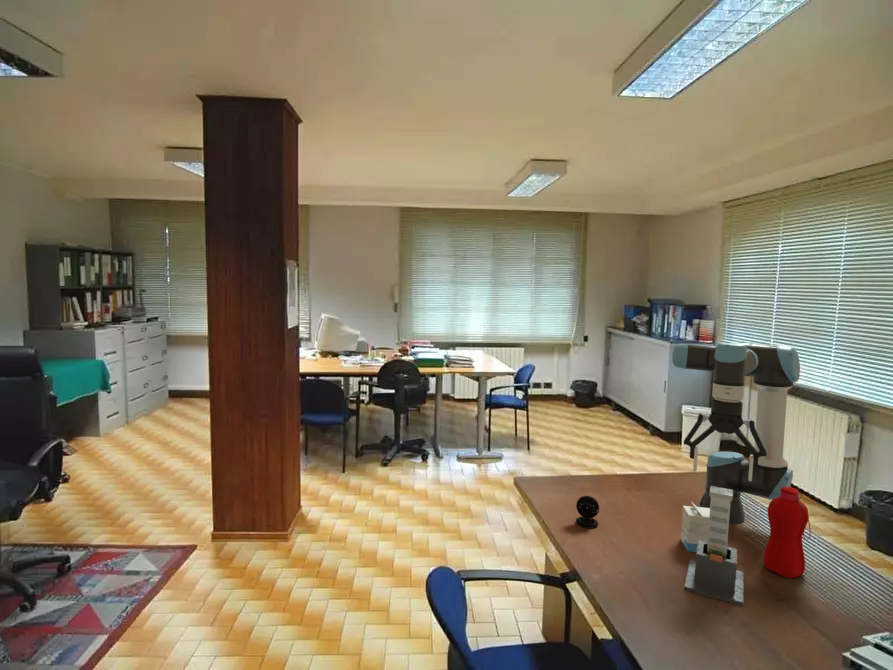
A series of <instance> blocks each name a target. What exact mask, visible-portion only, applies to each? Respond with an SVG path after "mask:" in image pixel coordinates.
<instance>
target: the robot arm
mask: <svg viewBox="0 0 893 670" xmlns="http://www.w3.org/2000/svg"><path fill="white" fill-rule="evenodd" d="M671 355H672V357H671V359H672V360H671V361H672V364H673V366H674V367H675V368H678V369H684V370H692V371H702V372H704V371H705V372H713V380H712V392H711V393H712V394H711V396H712V399H711V405H710V406H711V408H710V414H709V415H708V414H704V413H702V412H699V413H698V416H697V421H695V423H694V425H693V426H692V428H691V429H690V431H689V432H688V434H687V435H686V437H685V438H684V440H683V444H684V445H686V446H688V447H689V459H693V468H692V472H697V469H698V455H699V454H698V453H699V444H700V443H701V442H703V441H704V440H705V439H707V438H708V436H710V435H711V434H714V432H718V433H720V434H728V435H732V434H735V435H736V437H738V438H739V440H740V441H741V443H742V444H743V445H744V446H745V447H746V448H747V450H748V451H749V452H750V454H749V457H748V459H745V456H744V454H742V453H739V452H734V451H715V452H712V453H710V454H709V455H708V456H707V463H706V471H705V472H706V474H705V487H704V488H705V489H704V493H703V495H702V497H701V499H700V501H699V503H698V507H703V508H710V502H711V496H709V493H710V486H714V487H720V488H725V489H731V490H733V499H732V500H731V503H730V516H729V524H730V523H731V524H732V523H733V524H734V523H735V524H737V523H742V522H744V521H745V516H746V515H745V514H746V512H745V511H744V510H745V509H744V506H743V502H742V499H741V493H743V494H747V495H752V496H755V497H759V498H762V499H767V500H768V501H769V500H771V501H772V500H773V499H775V498H777V497H780V496H781V490H779V489H781V487H791V486H792V481H793V476H794V470H792V469H790V468H788V466H789V465H788V461H787V460H786V459H785V458H784V446H785V430H786V417H787V416H786V415H787V414H786V413H787V399H788V398H787V397H788V391H789V390H790V389H791V388H793V387H794V383H798V381H799V380H800V375H801V363H800V358H799V356H800V355H799V354H798V352H797V350H796V348H795V347H792V346H785V345H781V344H763V343H762V344H761V343H752V342H751V343H748V342H740V343H735V342H734V343H733V342H720V343H717V344H716V346H713V345H702V344H700V345H699V344H688V343H678V344H676V345H675V346H674V348H673V351H672V354H671ZM745 377H750V378H753V379H752V381H753V384H754V385H755V387H757V399H756V402H757V403H756V415H755V417H756V418H755V420H754V419H753V418H750V419H743V405H744V403H743V402H742V400H744V392H745V391H744V390H745ZM706 421H709V423H710V426H709V427H708V428H706V429H705V430H704V431H703V432H702V433H701V434H700V435H698V436H697V437H695V438H694V440H693V441H692V439H693V437H694V436H695V434H696V433H697V431H698V430H699V429H700V427H701V425H702V423H705V422H706ZM743 425H745V427H746V428H747V429H749V430H750V434H751V436H752V437H753V439H754V445H753V444H752V443H751V442H750V441H749V439H748V438H747V436H745V434H744V433H743V431H742V430H741V429H740V428H741V427H742V426H743Z"/></svg>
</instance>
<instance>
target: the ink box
mask: <svg viewBox="0 0 893 670" xmlns="http://www.w3.org/2000/svg"><path fill="white" fill-rule="evenodd" d="M691 504H692V505H693V506H690V505H682V515H681V516H682V517H681V528H680V529H681V531H680V532H681V533H680V540H681V542H682V544H683V546H684V548H685V549H686V551H687V552H694V553H696V552H697V547H698V542H699V540H701V541H705V542H708V530H709V516H710V508H703V507H699V506H697V505H696V504H695V503H694V502H693V501H691Z"/></svg>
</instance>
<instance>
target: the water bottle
mask: <svg viewBox="0 0 893 670" xmlns="http://www.w3.org/2000/svg"><path fill="white" fill-rule="evenodd" d="M779 490H781V496H780V497H777V498H775V499H773V500H771V501H770V502H769V504H768V506H767V517H768V523H769V529H770V534H769V537H768V541H767V543H766V545H765V547H764V550H763V551H764V553H763V559H762V562H763V566H764V567H765V568H766V569H767V570H769V571H771V572H773V573H775V574H777V575H779V576H782V577H784V578H789V579H794V578H798V577H799V576H803V574H804V572H805V569H806V559H805V552H804V547H803V538H804V540H806V541H807V540H809V539H811V534H812V533H811V532H812V531H811V523H810V520H809V519H810V516H809V511H808V510H809V509H808V507H807V506H806V504H804V503H803V502H802V501H801V500H800V497H799V493H800V492H799V491H800V490H799V489H797V488H794V487H791V486H790V487H781V489H779ZM807 526H808V529H809V535H808V536H809V537H808V538H806V536H805V530H806V527H807Z"/></svg>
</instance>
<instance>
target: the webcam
mask: <svg viewBox="0 0 893 670" xmlns="http://www.w3.org/2000/svg"><path fill="white" fill-rule="evenodd" d="M575 507H576V511H577V512H578V514H579V515H580V516H579V517H576V519H575V523H576V525H578V526H579V527H581V528H584V529H595V528H597V527H598V526H599V522H598V520H597V519H595V517H596V516H598V514H599V512H600V505H599V502H598V501H597V499H596V498H594V497H592V496H591V495H584V496H583V495H582V496H581V497H579V498H578V499H577V501H576V505H575Z"/></svg>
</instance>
